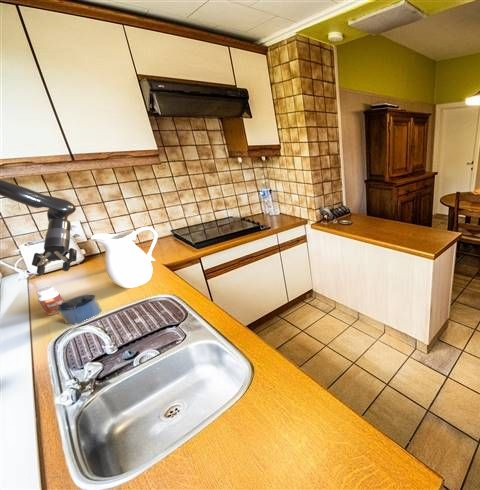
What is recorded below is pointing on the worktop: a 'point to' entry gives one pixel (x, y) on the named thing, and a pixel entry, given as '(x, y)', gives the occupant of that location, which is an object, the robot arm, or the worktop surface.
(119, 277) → the pitcher
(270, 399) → the worktop surface
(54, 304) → the pill bottle
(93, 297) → the crock
